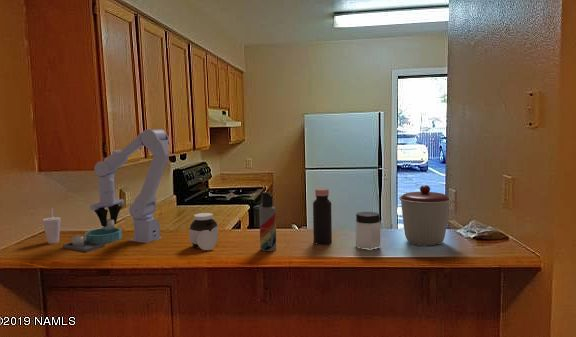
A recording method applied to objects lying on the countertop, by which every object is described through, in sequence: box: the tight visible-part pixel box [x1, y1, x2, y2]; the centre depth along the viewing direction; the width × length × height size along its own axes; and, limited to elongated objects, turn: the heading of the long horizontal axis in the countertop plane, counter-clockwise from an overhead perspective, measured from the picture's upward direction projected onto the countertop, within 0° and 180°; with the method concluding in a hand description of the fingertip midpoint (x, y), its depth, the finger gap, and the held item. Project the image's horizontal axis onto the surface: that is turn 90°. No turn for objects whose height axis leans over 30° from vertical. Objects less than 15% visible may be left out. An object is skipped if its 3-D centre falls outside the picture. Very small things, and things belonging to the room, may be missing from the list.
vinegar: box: [312, 188, 333, 245], centre depth 157 cm, size 7×7×20 cm
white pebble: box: [71, 235, 85, 247], centre depth 159 cm, size 4×4×4 cm
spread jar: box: [189, 212, 219, 251], centre depth 155 cm, size 12×11×12 cm
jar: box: [355, 211, 381, 249], centre depth 150 cm, size 9×8×12 cm
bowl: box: [84, 227, 123, 244], centre depth 169 cm, size 13×13×4 cm
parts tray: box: [62, 240, 106, 253], centre depth 157 cm, size 13×7×2 cm, turn 62°
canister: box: [398, 184, 452, 246], centre depth 154 cm, size 18×18×21 cm
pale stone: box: [103, 218, 115, 230], centre depth 171 cm, size 4×4×4 cm
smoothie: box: [42, 207, 62, 244], centre depth 165 cm, size 6×6×14 cm
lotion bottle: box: [258, 193, 277, 252], centre depth 150 cm, size 6×6×20 cm
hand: (108, 224), depth 171 cm, fingers closed on pale stone, 4 cm apart
